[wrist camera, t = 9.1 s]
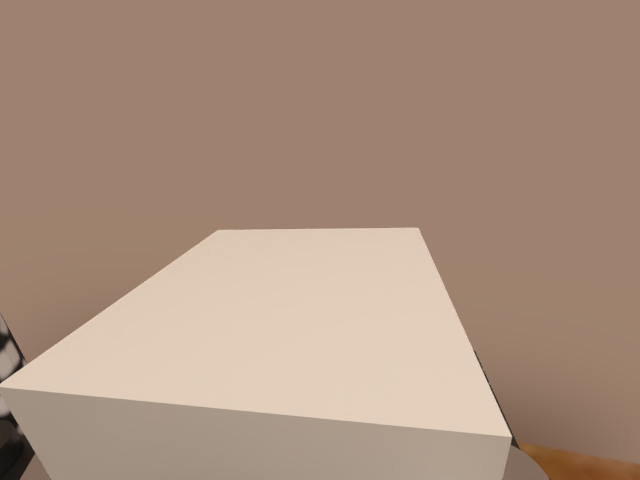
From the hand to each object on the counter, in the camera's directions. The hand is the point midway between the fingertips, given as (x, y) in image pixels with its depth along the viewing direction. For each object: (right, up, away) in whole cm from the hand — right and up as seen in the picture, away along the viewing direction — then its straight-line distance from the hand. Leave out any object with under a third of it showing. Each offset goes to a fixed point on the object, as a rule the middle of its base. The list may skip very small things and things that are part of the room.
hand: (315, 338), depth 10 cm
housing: (0, -7, 0) cm, 7 cm away
